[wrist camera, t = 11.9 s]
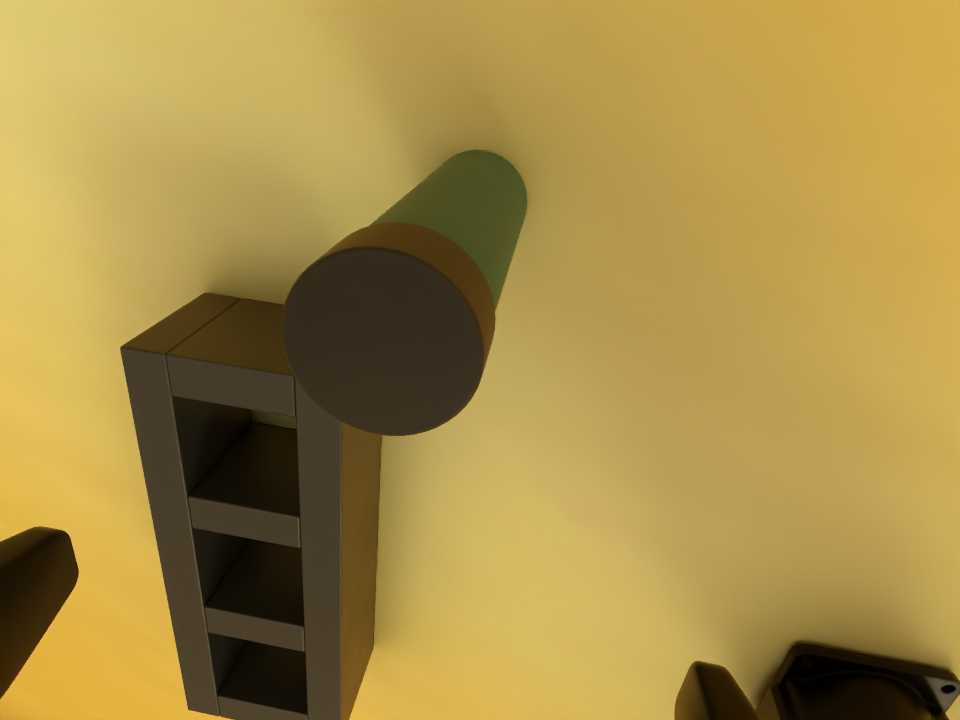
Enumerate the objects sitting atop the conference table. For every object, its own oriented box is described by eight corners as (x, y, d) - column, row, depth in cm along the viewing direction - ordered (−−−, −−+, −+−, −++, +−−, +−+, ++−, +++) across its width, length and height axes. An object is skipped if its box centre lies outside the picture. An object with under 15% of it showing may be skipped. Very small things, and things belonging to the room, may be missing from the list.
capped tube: (537, 154, 18) (496, 265, 8) (522, 259, 19) (472, 452, 10) (430, 139, 18) (274, 231, 9) (423, 244, 19) (283, 419, 10)
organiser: (386, 320, 21) (342, 384, 17) (373, 647, 29) (341, 743, 25) (204, 291, 21) (118, 346, 17) (240, 620, 29) (187, 710, 25)
